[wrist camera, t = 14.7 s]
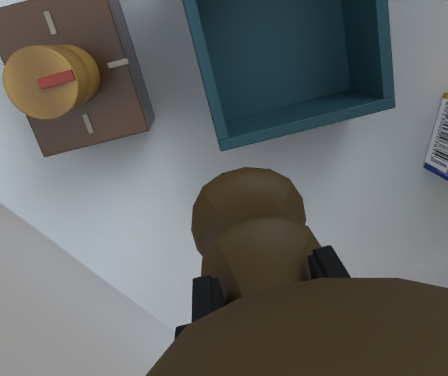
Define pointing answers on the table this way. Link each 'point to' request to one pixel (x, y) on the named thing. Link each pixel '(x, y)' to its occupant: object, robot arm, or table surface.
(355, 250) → the table surface
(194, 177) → the table surface
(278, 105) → the teal open box
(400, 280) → the kendama
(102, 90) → the block
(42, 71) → the tap knob
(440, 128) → the beverage box
